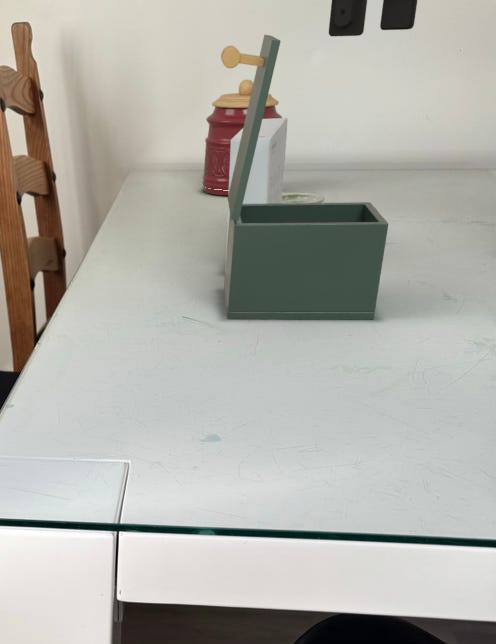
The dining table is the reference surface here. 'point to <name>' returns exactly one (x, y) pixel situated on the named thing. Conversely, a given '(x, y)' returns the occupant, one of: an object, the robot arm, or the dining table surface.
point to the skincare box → (263, 164)
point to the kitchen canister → (228, 134)
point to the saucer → (301, 198)
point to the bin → (304, 261)
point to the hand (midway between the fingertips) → (371, 32)
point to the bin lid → (250, 114)
